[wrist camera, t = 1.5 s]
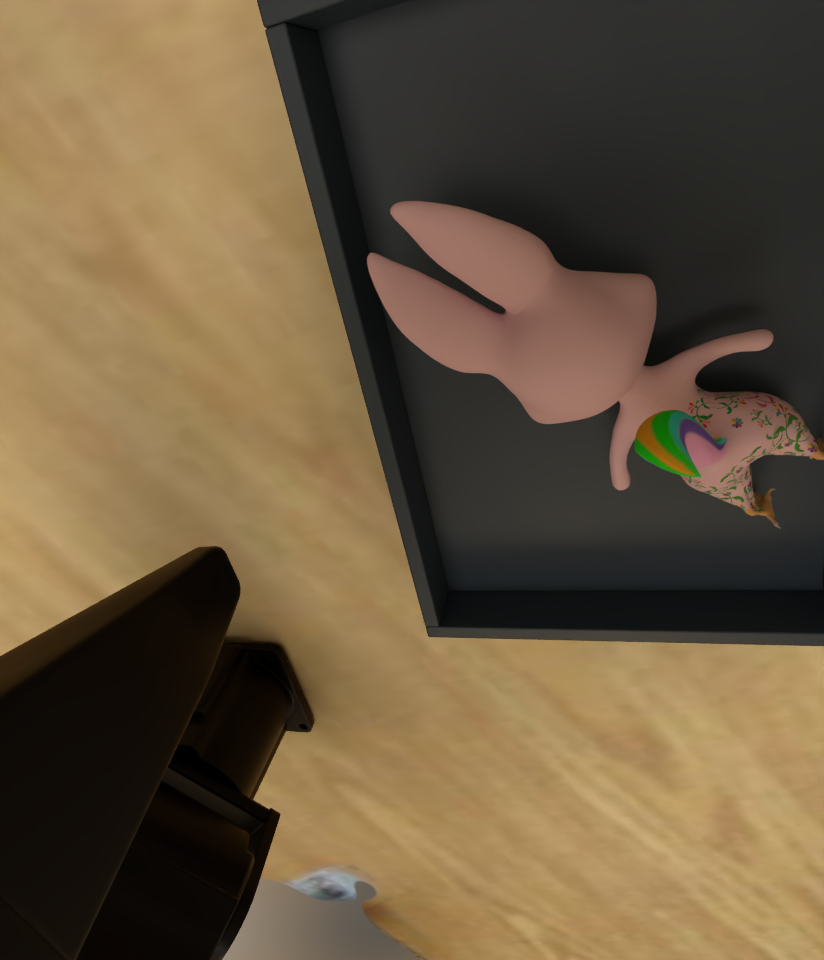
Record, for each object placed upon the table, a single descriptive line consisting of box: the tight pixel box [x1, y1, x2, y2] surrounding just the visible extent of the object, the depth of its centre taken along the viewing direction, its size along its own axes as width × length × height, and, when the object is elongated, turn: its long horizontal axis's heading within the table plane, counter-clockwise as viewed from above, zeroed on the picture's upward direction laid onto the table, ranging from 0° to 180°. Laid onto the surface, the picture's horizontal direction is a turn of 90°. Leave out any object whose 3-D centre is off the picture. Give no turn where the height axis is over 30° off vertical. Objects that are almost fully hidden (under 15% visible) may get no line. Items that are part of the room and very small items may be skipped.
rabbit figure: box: [367, 201, 824, 529], centre depth 17 cm, size 6×6×15 cm
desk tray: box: [257, 0, 824, 646], centre depth 18 cm, size 21×15×3 cm
